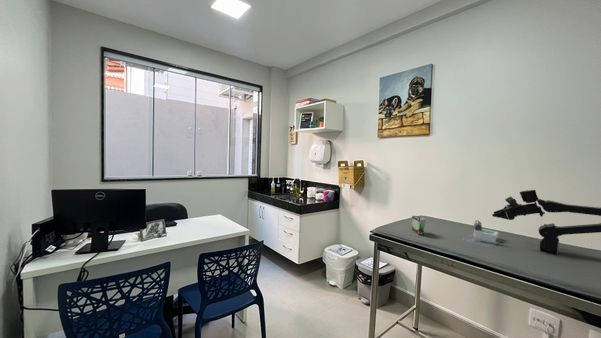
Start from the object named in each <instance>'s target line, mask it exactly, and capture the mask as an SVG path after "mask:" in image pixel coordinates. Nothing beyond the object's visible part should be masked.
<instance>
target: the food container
mask: <svg viewBox="0 0 601 338" xmlns="http://www.w3.org/2000/svg"><path fill="white" fill-rule="evenodd" d="M426 220H427V219H426V218H425V217H422V216H419V215H411V231H412V232H413V233H415V234H416V235H417V236H423V235H424V233H425V232H424V231H425V225H426V223H427V221H426Z"/></svg>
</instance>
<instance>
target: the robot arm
mask: <svg viewBox="0 0 601 338" xmlns="http://www.w3.org/2000/svg"><path fill="white" fill-rule="evenodd" d="M519 195H520V197H521V199H522V202H525V204H521V203H518V202H517V200H516V199H515V198H514V197H512V196H509V197H506V198H505V199H504V200H505V201H506V203H508V204H506V205H505V206H504V207H503V208H501V209H498V210H496V211H493V213H492V214H491V216H492V217H493V218H498V219H499V218H500V219H505V220H509V221H512V220H514V219H515V218H517V217H519V216H520V217H521V216H524V217H525V216H528V215H529V216H530V215H536V214H537V215H539V216H540V218H541V217H543V216H544V215H545V214H546V212H547V213H574V214H583V215H590V216H591V215H592V216H597V217H601V207H600V206H599V207H597V206H588V205H579V204H578V205H576V204H567V203H562V202H559V201H554V200H550V199H548V200H544V199H542V198H539V197H538V194H537V191H536V189H529V190H528V189H527V190H521V191H519ZM596 233H599V234H600V233H601V222H599V223H590V224H578V225H577V224H576V225H566V226H565V225H563V226H557V225H555V223H553V222H552V223H548V224H546V223H543V225H540V226H539V227H538V234H539V236H540V237H542V239H541V240H540V241H539V251H541V252H545V253H549V254H552V255H558V254H559V253H560V251H559V250H560V238H559V237H560V236H565V235H579V234H581V235H582V234H596Z"/></svg>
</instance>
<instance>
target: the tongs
mask: <svg viewBox="0 0 601 338" xmlns="http://www.w3.org/2000/svg"><path fill="white" fill-rule="evenodd" d="M481 229H483V228H482V222H481V221H479V220H478V219H477V220H475V221H474V222H473V233H474V239H473V240H474V241H476V242H480V240H481Z"/></svg>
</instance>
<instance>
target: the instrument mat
mask: <svg viewBox="0 0 601 338" xmlns="http://www.w3.org/2000/svg"><path fill="white" fill-rule="evenodd" d="M473 239H474V232H473V233H471V234H470V233H469V234H468V235H465V236H462V237H460V238H458V239H457V240H458V241H462V242H466V243H469V244H472V245H477V246H480V247H483V248H487V249H490V248H492V247H493V246H495V245H497V244H500V243H502V242H504V241H506V238H503V237H498V239H497V240H496V242H492V241H488V240H483V239H481V240H480V242H476V241H474V240H473Z"/></svg>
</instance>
